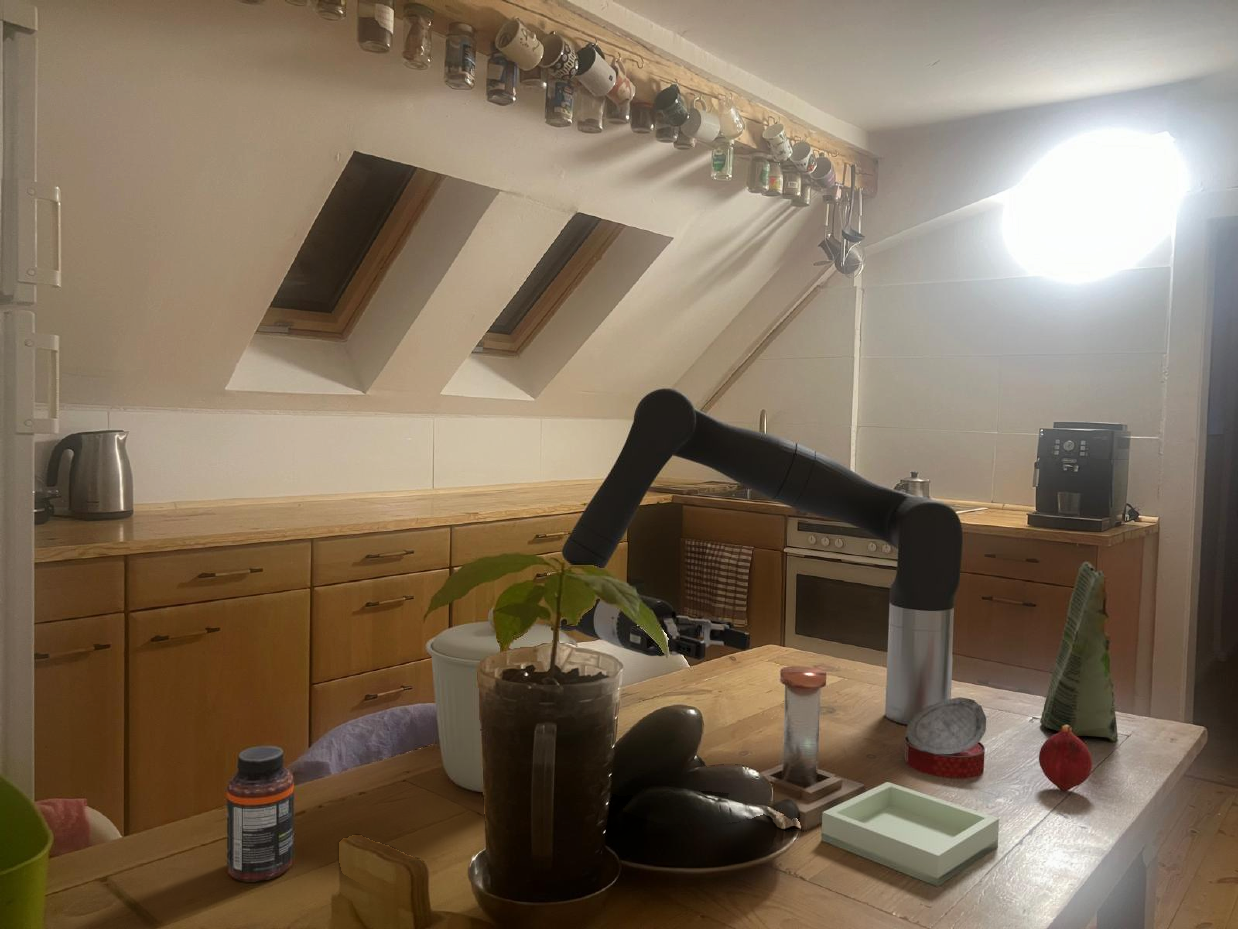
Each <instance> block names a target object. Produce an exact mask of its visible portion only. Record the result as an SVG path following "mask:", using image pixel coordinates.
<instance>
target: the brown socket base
mask: <svg viewBox="0 0 1238 929" xmlns="http://www.w3.org/2000/svg"><path fill="white" fill-rule="evenodd" d="M760 773H761V774H763V776H765V777H767V778H768V779H769V780H770V783H771V784H772V787H773V805H772V808H773V809H774V810H776V811H779V812H780V813H782V814H784V816H786V817H787V818H789V819H791V820H792V819H793V818H797V819H798V821H799V822H800V825H801V829H800V830H801V831H803V832H805V831H808V830H809V829H812V828H813V827H816V826H818V825H820V824H822V812H824V811H826V810H828V809H830V808H833V807H835V806H837V805H839V804H841V803H843V802H845V801H847V800H850V799H852V798H854V797H856V796H858V795H860V794H862V793H865V792H866V784H864V783H861V782H857V781H854V780H852V779H848V778H845V777H843V776H840V775H838V774H835V773H831V772H828V771H825V770H822V769H820V768H818V772H817V784H814V785H812V786H810V787H807V788H802V787H800V786H797V785H794V784H791V783H789V782H786V781H783V780H782V764H779V765H776V766H774V767H771V768H768V769H766V770H763V771H761V772H760Z"/></svg>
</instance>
